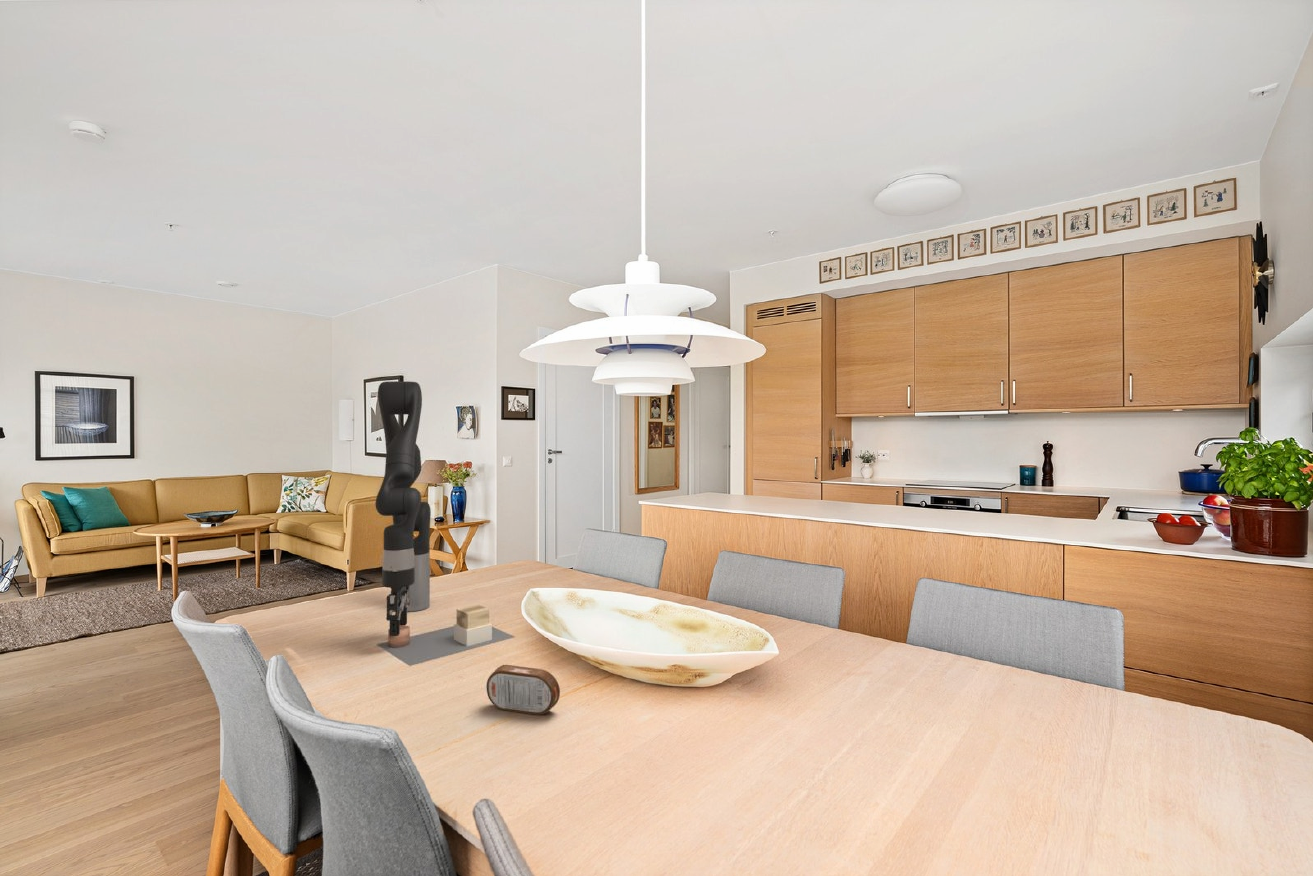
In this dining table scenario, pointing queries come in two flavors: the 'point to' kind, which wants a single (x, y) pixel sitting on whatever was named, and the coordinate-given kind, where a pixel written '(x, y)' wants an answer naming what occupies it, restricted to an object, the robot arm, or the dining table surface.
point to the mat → (437, 645)
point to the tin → (523, 689)
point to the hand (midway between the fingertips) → (398, 630)
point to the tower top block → (472, 616)
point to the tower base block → (472, 634)
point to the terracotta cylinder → (400, 638)
